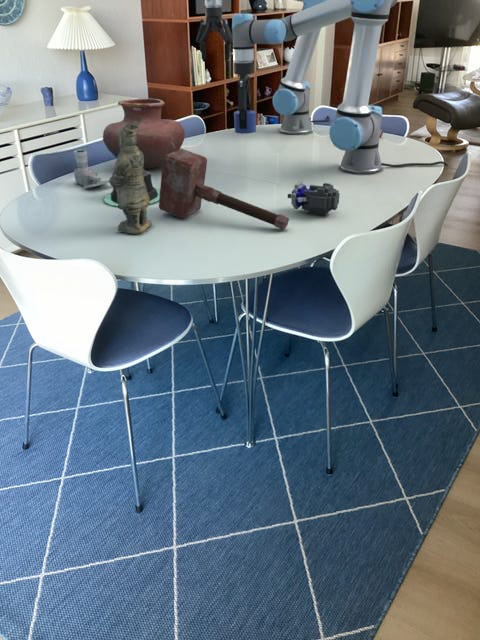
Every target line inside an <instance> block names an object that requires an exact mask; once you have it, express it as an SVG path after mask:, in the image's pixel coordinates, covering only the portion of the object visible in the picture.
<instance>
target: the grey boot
mask: <svg viewBox="0 0 480 640" xmlns="http://www.w3.org/2000/svg"><path fill="white" fill-rule="evenodd" d="M73 152H74V158H75V160H76V166H77V168H74V170H73V171H74V174H73V175H74V179H75V180H74V181H75V183H76V184H78V185H81V186H83V187H82V188H83V189H88V188H95V187H98V186H103V185H106V184H110V183H109V179H107V180H102V177H101V176H99V175H98V171H96V170H93V169H90V168H89V163H88V158H89V157H88V151H87V149H84V148H83V149H82V148H80V149H75V150H74V151H73Z"/></svg>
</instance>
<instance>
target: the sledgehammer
mask: <svg viewBox="0 0 480 640" xmlns="http://www.w3.org/2000/svg"><path fill="white" fill-rule="evenodd" d="M207 164H208V159H207V158H206V157H205V156H203V155H200V154H197V153H195V152H193V151H189V150H186V149H184V148H180V149H179V150H177V151H174V152H172V153H170V154H167V155H165V156H164V158H163V165H161V166H162V167H161V176H160V187H159V190H160V198H159V200H158V208H159V210H160V211H162V212H165V213H168V214H170V215H173V216H174V217H177V218H180V219H182V220H185V219H187V218H188V217H190V216H192V215H193V214H195V213H197V212H198V211H199V210H200V209H201V207H202V201H203V200H204V201H207V202H209V203H213V204H215V205H220V206H223V207H225V208H228V209H231V210H233V211H236V212H239V213H241V214H243V215H245V216H248V217H252V218H255V219H257V220H260V221H262V222H264V223H267V224H270V225H273V226H274V228H276V229H280V230H282V231H285V230H286V228H287V227H288V224H289V221H290V218H289V217H288V216H286V215H283V214H281V213H279V214H277V213H275V212H273V211H269V210H267V209H265V208H262V207H259V206H256V205H254V204H251V203H248V202H246V201H244V200H242V199H238V198H236V197H233V196H231V195H228V194H225V193H223V192H222V191H220V190H218V189H215V188H214V187H211V186H208V185H205V181H206V175H207Z"/></svg>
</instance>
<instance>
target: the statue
mask: <svg viewBox="0 0 480 640" xmlns="http://www.w3.org/2000/svg"><path fill="white" fill-rule="evenodd" d="M138 127H139V123H138V122H137V121H133V122H131V123H128V124H127V125H126V126H125V127H124V128H123V129H121V130H120V133H119V138H118V140H119V147H120V151H119V154H118V156H117V158H116V160H115V164H114V169H113V172H114V175H113V176H112V175H111V176H110V177H109V179H108V180H109V183H108V184H110V186H111V187H112V188H113V187H114V188H115V189H116V192H117V202H118V206H117V209H119V210H122V213H123V214H124V215H125V218H126V219H125V220H122V221H120V222H119V224H118V225H117V231H118V232H121V233H126V234H134V235H136V234H142V233H143V232H145V231H146V230H147V229H148V228H150V227H151V226H152V225H153V223H152V220H150V219H148V216H147V214H148V213H147V212H148V211H147V209H148V206H149V205H150V197H149V195H148V192H147V188H146V184H145V182H144V178H143V169H144V168H143V166H144V156H143V153H142V151H141V150H139V149H138V147H137V146H136V143H137V138H136V131H137V130H138Z"/></svg>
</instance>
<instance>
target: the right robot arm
mask: <svg viewBox="0 0 480 640" xmlns="http://www.w3.org/2000/svg"><path fill="white" fill-rule="evenodd" d="M398 1H399V0H327V1H325V2H322V3H320V4H317V5H315V6H312V7H310V8H307V9H305V10H302V9H301V10H299V11H298V12H295V13H292V14H290V15H288V16H285V17H281V18H272V19H255V18H254V15H253V14H252V13H235V14H233V15H232V18H231V19H232V20H231V22H232V23H231V33H232V36H233V43H232V48H233V49H232V51H231V55H232V56H233V57H232V59H233V62H234V63H233V64H232V65H233V74H234V75H239V78H238V80H237V97H238V99H237V102H238V103H237V109H236V111H239V122H240V129H247V110H251V107H252V106H253V103H252V102H251V76H250V75H253V74H254V73H255V63H254V62H253V61H255V48H254V45H271V46H272V45H273V46H274V45H280V44H282V43H283V42H287V43H288V42H290V41H293V40H294V39H297V37H298V36H301V35H303V34H306V33H309V32H312V31H314V30H317V29H320V28H321V29H323V28H325V27H329V26H331V25H333V24H336V23H338V22H342V21H344V20H347V19H349V18H350V19H351V20H352V21H353V23H354V26H353V33H352V39H351V45H350V52H349V59H348V65H347V72H346V77H345V78H346V79H345V83H344V84H345V85H344V92H343V99H342V102H341V103H340V104H338V106H337V108H336V115H335V119H334V120H333V121H332V123H331V124H330V126H329V127H330V128H329V132H328V133H329V139H330V142H331V143H332V145H334V147H335V148H336V149H338V150H341V151H344V154H343V156H342V158H341V162H340V170H341V171H343V172H345V173H349V174H355V175H356V174H357V175H369V174H370V175H371V174H376V173H378V172H380V171H382V166H383V167H389V168H402V167H410V166H412V167H413V166H415V167H417V166H421V167H422V166H423V167H427V166H436V165H437V166H438V165H444V166H445V167H449V164H448V163H447V162H445V161H443V160H440V161H435V162H408V163H399V164H392V163H391V164H390V163H385V162H382V161H381V155H380V150H379V147H380V145H379V144H380V138H379V137H380V130H381V129H382V128H381V127H382V118H383V108H382V107H381V106H379V105H372V104H371V105H370V104H369V102H370V96H371V91H372V85H373V79H374V73H375V68H376V62H377V55H378V50H379V44H380V39H381V34H382V29H383V25H384V24H385V23H386V22H388V21H389V16H390V12H391V11H390V10H391V9H392V8H393V7H394V6H395V5H396V4H397V3H398Z"/></svg>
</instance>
